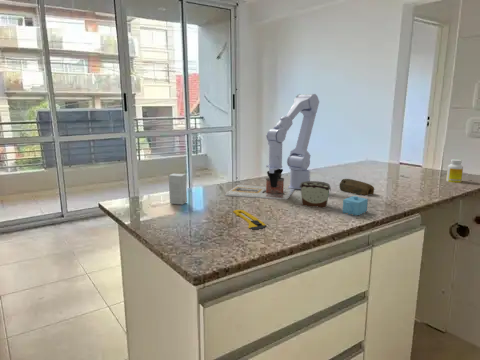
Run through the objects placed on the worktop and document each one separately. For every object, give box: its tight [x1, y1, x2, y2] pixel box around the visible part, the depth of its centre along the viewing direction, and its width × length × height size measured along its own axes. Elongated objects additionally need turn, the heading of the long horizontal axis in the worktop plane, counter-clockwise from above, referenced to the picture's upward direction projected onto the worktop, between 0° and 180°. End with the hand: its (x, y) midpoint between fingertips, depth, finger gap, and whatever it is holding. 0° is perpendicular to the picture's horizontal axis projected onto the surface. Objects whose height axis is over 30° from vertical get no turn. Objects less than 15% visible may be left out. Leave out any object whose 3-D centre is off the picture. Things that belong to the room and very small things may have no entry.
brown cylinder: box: [338, 178, 375, 196], centre depth 165 cm, size 15×7×7 cm, turn 44°
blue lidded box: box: [342, 195, 369, 216], centre depth 135 cm, size 12×6×8 cm, turn 136°
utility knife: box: [232, 209, 267, 231], centre depth 130 cm, size 7×22×2 cm, turn 24°
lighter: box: [265, 173, 285, 195], centre depth 165 cm, size 8×3×10 cm, turn 84°
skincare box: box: [168, 173, 188, 206], centre depth 151 cm, size 6×4×12 cm
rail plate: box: [224, 184, 296, 200], centre depth 168 cm, size 28×18×1 cm, turn 72°
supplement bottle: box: [445, 158, 464, 183], centre depth 183 cm, size 7×7×13 cm
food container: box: [299, 180, 332, 208], centre depth 146 cm, size 12×6×10 cm, turn 65°
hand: (274, 186), depth 165 cm, fingers closed on lighter, 4 cm apart
